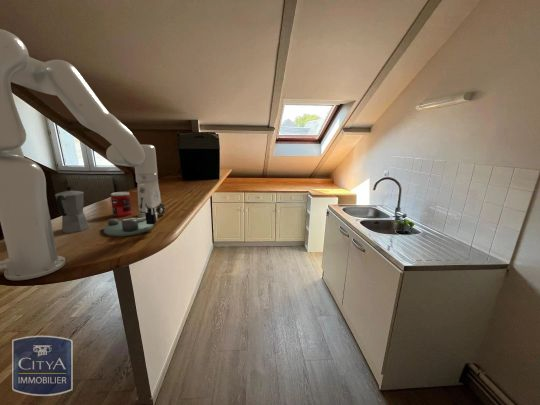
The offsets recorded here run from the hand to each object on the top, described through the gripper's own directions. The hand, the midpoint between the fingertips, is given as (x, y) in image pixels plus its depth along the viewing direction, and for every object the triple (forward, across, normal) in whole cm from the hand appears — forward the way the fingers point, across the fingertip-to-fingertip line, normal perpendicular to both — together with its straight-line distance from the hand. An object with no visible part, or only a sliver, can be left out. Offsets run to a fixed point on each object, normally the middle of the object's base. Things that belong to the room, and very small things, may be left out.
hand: (151, 223), depth 97 cm
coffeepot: (+4, +4, +33) cm, 33 cm away
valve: (+5, +25, +11) cm, 27 cm away
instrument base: (+4, +6, +12) cm, 14 cm away
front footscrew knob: (+3, +2, +5) cm, 6 cm away
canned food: (+4, +26, +25) cm, 36 cm away
